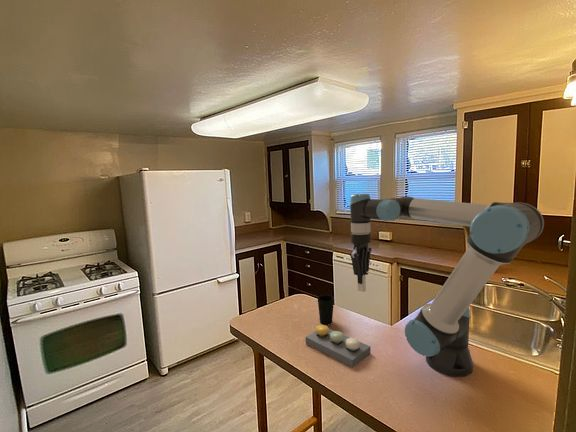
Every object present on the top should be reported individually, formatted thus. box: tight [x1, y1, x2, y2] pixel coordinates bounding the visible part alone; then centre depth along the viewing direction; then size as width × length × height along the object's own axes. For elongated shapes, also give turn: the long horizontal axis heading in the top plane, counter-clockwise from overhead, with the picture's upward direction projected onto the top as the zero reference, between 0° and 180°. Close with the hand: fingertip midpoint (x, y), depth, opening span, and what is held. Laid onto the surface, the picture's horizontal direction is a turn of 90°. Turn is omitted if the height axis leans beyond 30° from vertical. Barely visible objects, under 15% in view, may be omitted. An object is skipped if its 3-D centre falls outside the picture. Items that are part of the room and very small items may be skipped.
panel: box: [305, 328, 372, 368], centre depth 123 cm, size 23×12×3 cm, turn 44°
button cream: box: [346, 337, 361, 353], centre depth 117 cm, size 5×5×4 cm
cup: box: [317, 294, 335, 326], centre depth 144 cm, size 8×8×12 cm
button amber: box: [315, 324, 330, 338], centre depth 128 cm, size 5×5×4 cm
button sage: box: [330, 330, 344, 345], centre depth 122 cm, size 5×5×4 cm
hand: (361, 290), depth 124 cm, fingers closed
